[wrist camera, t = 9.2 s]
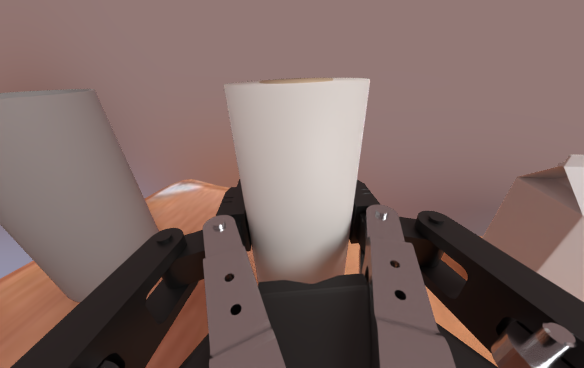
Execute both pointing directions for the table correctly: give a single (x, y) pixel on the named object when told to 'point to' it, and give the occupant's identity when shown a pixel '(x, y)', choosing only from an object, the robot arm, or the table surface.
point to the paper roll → (298, 171)
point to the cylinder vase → (68, 188)
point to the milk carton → (546, 224)
